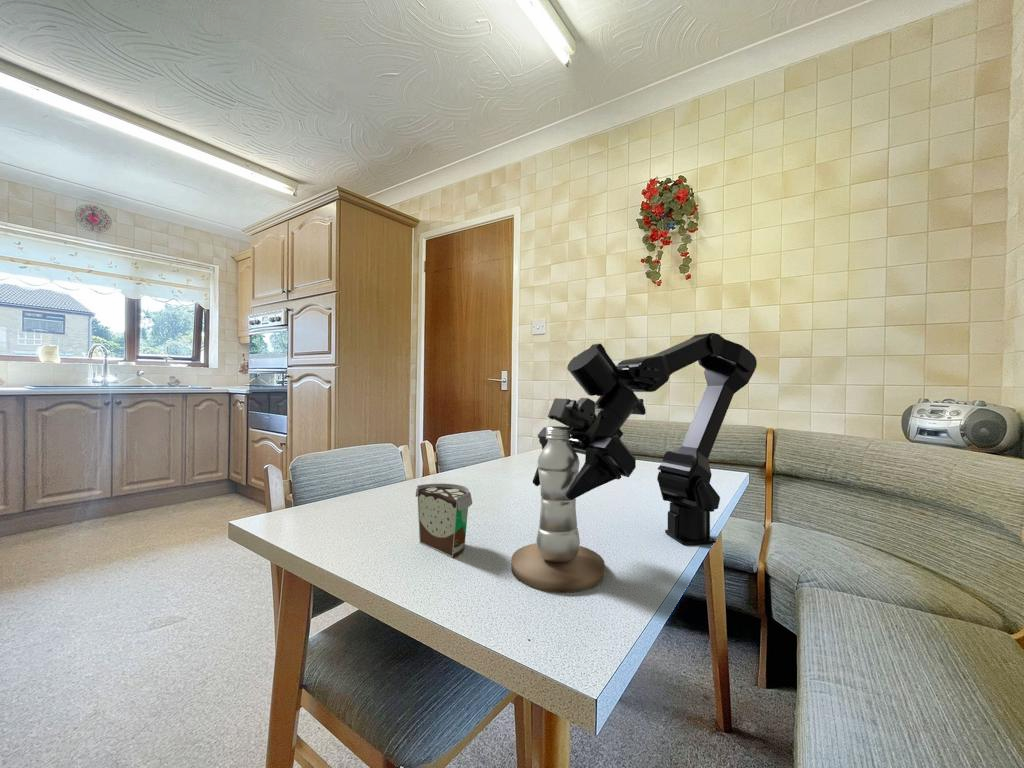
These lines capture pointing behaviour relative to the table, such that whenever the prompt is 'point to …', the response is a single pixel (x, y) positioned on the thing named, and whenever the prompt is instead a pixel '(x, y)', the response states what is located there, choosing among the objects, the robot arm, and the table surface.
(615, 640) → the table surface
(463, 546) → the food container
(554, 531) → the plastic bottle
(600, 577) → the walnut stand
